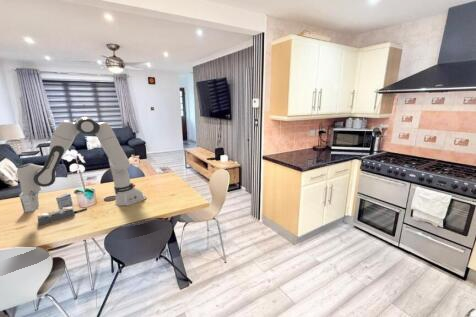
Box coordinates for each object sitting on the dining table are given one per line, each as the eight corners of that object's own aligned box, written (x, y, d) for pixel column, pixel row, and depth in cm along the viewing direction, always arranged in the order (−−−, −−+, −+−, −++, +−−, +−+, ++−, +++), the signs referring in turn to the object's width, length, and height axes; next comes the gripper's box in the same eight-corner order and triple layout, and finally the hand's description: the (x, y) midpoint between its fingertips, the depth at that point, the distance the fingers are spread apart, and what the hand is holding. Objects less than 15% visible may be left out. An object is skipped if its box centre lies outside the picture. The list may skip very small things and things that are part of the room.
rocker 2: (60, 210, 155) (59, 208, 154) (61, 212, 152) (59, 210, 152) (51, 214, 152) (50, 212, 151) (52, 216, 150) (50, 214, 149)
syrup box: (27, 209, 167) (22, 191, 163) (37, 207, 169) (32, 190, 165) (23, 212, 162) (18, 194, 158) (34, 211, 164) (29, 192, 160)
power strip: (85, 207, 168) (84, 202, 167) (87, 211, 163) (86, 206, 162) (38, 220, 151) (37, 215, 150) (39, 225, 145) (37, 219, 144)
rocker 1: (48, 215, 151) (48, 212, 151) (48, 217, 148) (48, 214, 148) (37, 216, 147) (38, 213, 147) (38, 218, 145) (38, 215, 145)
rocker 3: (71, 208, 159) (71, 206, 159) (72, 210, 157) (72, 208, 157) (62, 209, 156) (62, 207, 156) (63, 211, 153) (63, 209, 153)
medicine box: (62, 208, 167) (59, 198, 165) (58, 207, 169) (55, 197, 166) (72, 204, 174) (70, 194, 172) (69, 203, 176) (66, 193, 173)
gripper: (38, 192, 136) (43, 213, 139) (37, 183, 150) (42, 202, 154) (24, 195, 132) (30, 216, 135) (24, 185, 146) (30, 205, 150)
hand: (36, 208), depth 145 cm, fingers closed
